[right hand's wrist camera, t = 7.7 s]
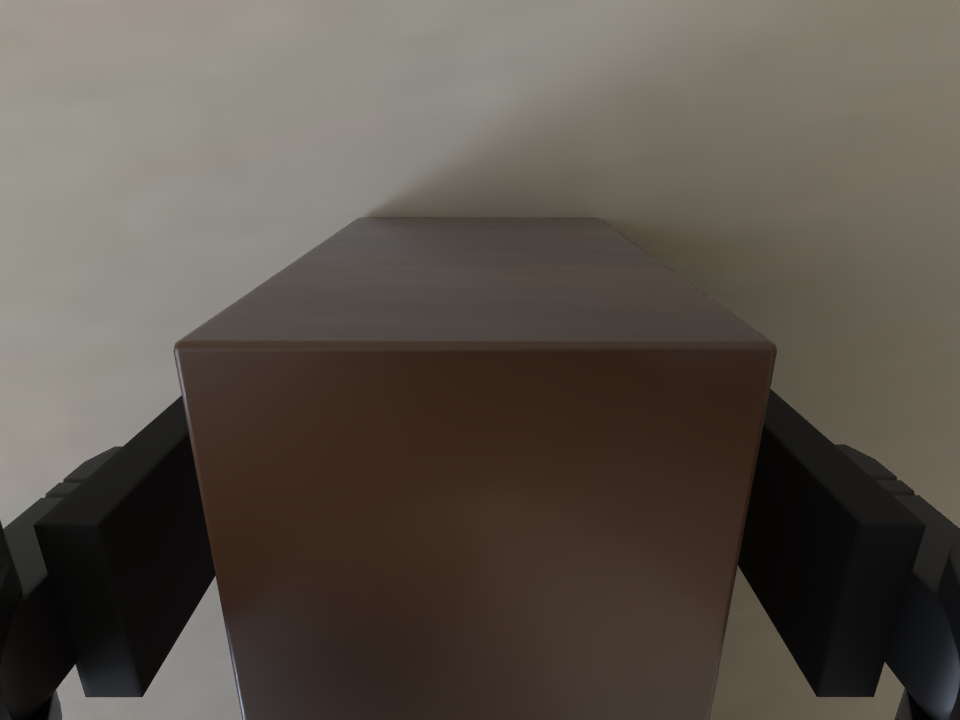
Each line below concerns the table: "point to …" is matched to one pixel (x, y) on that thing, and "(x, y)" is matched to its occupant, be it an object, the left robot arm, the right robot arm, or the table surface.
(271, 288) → the plank
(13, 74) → the table surface
